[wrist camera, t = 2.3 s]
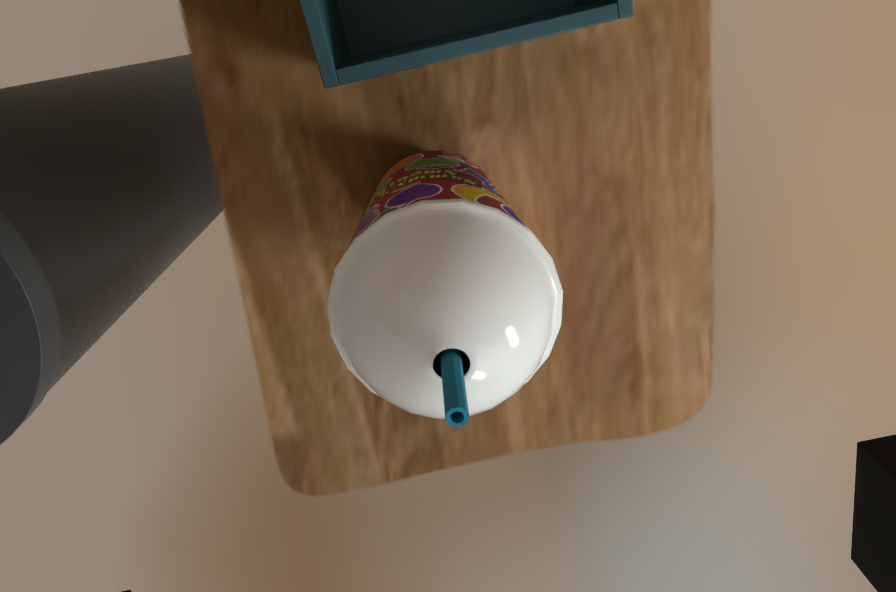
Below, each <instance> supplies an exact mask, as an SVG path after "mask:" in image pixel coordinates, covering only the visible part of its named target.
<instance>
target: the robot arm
mask: <svg viewBox="0 0 896 592" xmlns="http://www.w3.org/2000/svg"><path fill="white" fill-rule="evenodd" d="M856 460H857V461H856V477H855V495H854V496H855V497H854V514H853V531H852V549H851V559H852V560H853V561H854V563H855V564H856V565H857V566H858V568H859V569H860V570H861V571H862V573H863V574H864V575H865V576H866V578H867V579H868V580H869V581H870V583H871V584H872V585H873V586H874V588H875V589H876V590H877V591H878V592H896V435H891V436H886V437H881V438H877V439H871V440H866V441H861V442H858V443H857V459H856ZM122 592H131V590H127V591H122Z"/></svg>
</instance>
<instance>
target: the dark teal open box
mask: <svg viewBox="0 0 896 592" xmlns="http://www.w3.org/2000/svg"><path fill="white" fill-rule="evenodd" d="M299 1H300V5H301V8H302V12H303V15H304V19H305V22H306V25H307V29H308V32H309V36H310V39H311V43H312V46H313V50H314V53H315V57H316V60H317V64H318V67H319V71H320V74H321V78H322V81H323V85H324V88H325V89H327V88H331V87H335V86H339V85H343V84H348V83H352V82H356V81H360V80H365V79H369V78H373V77H377V76H381V75H386V74H390V73H394V72H398V71H402V70H407V69H411V68H415V67H419V66H424V65H428V64H432V63H436V62H440V61H445V60H449V59H453V58H457V57H461V56H466V55H470V54H474V53H478V52H483V51H487V50H491V49H495V48H499V47H504V46H508V45H512V44H516V43H520V42H525V41H529V40H533V39H537V38H542V37H546V36H550V35H554V34H558V33H563V32H567V31H571V30H575V29H579V28H584V27H588V26H592V25H596V24H601V23H605V22H609V21H613V20H617V19H621V18H626V17H630V16H633V14H634V13H633V2H632V0H299Z"/></svg>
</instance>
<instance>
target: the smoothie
mask: <svg viewBox="0 0 896 592" xmlns="http://www.w3.org/2000/svg"><path fill="white" fill-rule="evenodd" d="M562 302H563V290H562V287H561V284H560V281H559V277H558V274H557V271H556V268H555V265H554V262H553V259H552V258H551V256H550V255H549V254H548V252H547V251H546V250H545V248H544V247H543V246H542V244H541V243H540V242H539V240H538V239H537V238H536V236H535V235H534V234H533V232H532V231H531V230H530V229H528V228H527V227H526V226H525V225H524V224H523V222H522V221H521V220H520V218H519V217H518V216H517V214H516V213H515V212H514V211H513V209H512V208H511V207H510V205H509V204H508V203H507V202H506V200H505V199H504V198H503V196H502V195H501V194H500V193H499V191H498V190H497V189H496V187H495V186H494V185H493V183H492V182H491V181H490V179H489V178H488V177H487V176H486V175H485V173H484V172H483V171H482V170H481V169H480V167H479V166H477V165H476V164H474V163H473V162H471V161H469V160H468V159H466V158H465V157H463V156H462V155H458V154H454V153H450V152H446V151H441V150H439V151H425V152H418V153H416V154H414V155H411V156H409V157H407V158H404V159H402V160H400V161H399V162H398V163H397V164H395V165H394V166H393V167H392V168H391V169H390V170H388V171H387V172H386V173H385V174H384V176H383V178H382V180H381V181H380V183H379V185H378V186H377V188H376V190H375V192H374V194H373V196H372V198H371V200H370V202H369V205H368V207H367V209H366V211H365V213H364V215H363V217H362V219H361V221H360V223H359V225H358V227H357V230H356V232H355V234H354V236H353V238H352V240H351V242H350V244H349V246H348V248H347V250H346V252H345V254H344V256H343V257H342V259H341V260H340V262H339V263H338V265H337V267H336V268H335V270H334V274H333V278H332V283H331V287H330V291H329V296H328V300H327V311H328V319H329V327H330V336H331V339H332V341H333V343H334V345H335V347H336V349H337V351H338V353H339V355H340V357H341V359H342V361H343V363H344V365H345V366H346V368H347V369H348V370H349V371H350V372H351V373H352V374H353V375H354V376H355V377H356V378H357V379H358V380H359V381H360V382H361V383H362V384H363V385H364V386H365V387H366V388H367V389H368V390H369V391H371V392H373V393H375V394H377V395H379V396H380V397H381V398H382V399H383V400H385V401H387V402H389V403H391V404H393V405H395V406H397V407H399V408H401V409H402V410H404V411H406V412H409V413H413V414H418V415H423V416H427V417H432V418H436V419H445V420H446V422H447V423H448V425H450V426H453V427H461V426H464V425H465V424H466V423H467V422H468V419H469V416H471V415H474V414H477V413H480V412H483V411H486V410H489V409H492V408H494V407H496V406H497V405H499V404H500V403H502V402H503V401H505V400H506V399H508V398H509V397H511V396H512V395H514V394H515V393H516V392H518V391H519V390H520V389H521V387H522V386H523V385H524V384H525V383H527V382H528V381H529V380H530V379H531V377H532V376H533V375H534V374H535V372H536V371H537V370H538V369H539V368H540V366H541V365H542V364H543V363H544V362H545V360H546V359H547V358H548V357H549V355H550V353H551V350H552V348H553V345H554V343H555V340H556V337H557V335H558V332H559V330H560V327H561V324H562Z"/></svg>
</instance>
